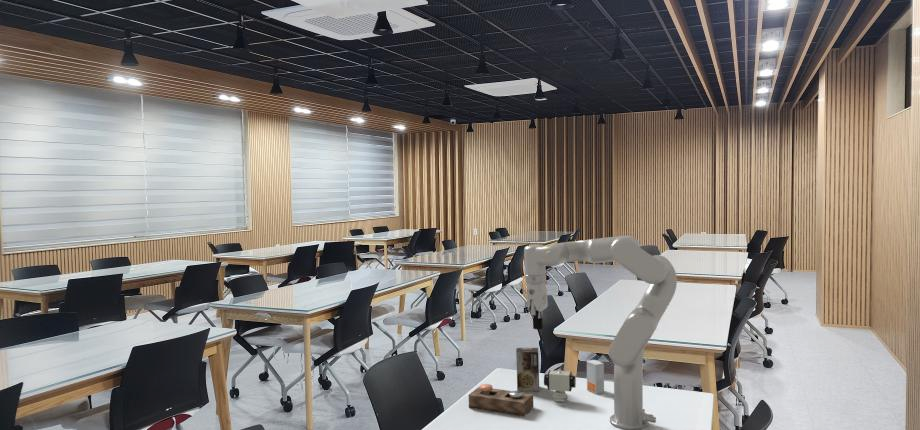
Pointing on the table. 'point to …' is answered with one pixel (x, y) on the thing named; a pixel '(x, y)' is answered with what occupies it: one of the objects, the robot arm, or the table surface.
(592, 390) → the skincare box
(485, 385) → the terracotta plug
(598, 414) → the table surface
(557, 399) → the pneumatic valve
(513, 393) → the steel plug
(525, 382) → the coffee box
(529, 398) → the plug box
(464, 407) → the table surface
